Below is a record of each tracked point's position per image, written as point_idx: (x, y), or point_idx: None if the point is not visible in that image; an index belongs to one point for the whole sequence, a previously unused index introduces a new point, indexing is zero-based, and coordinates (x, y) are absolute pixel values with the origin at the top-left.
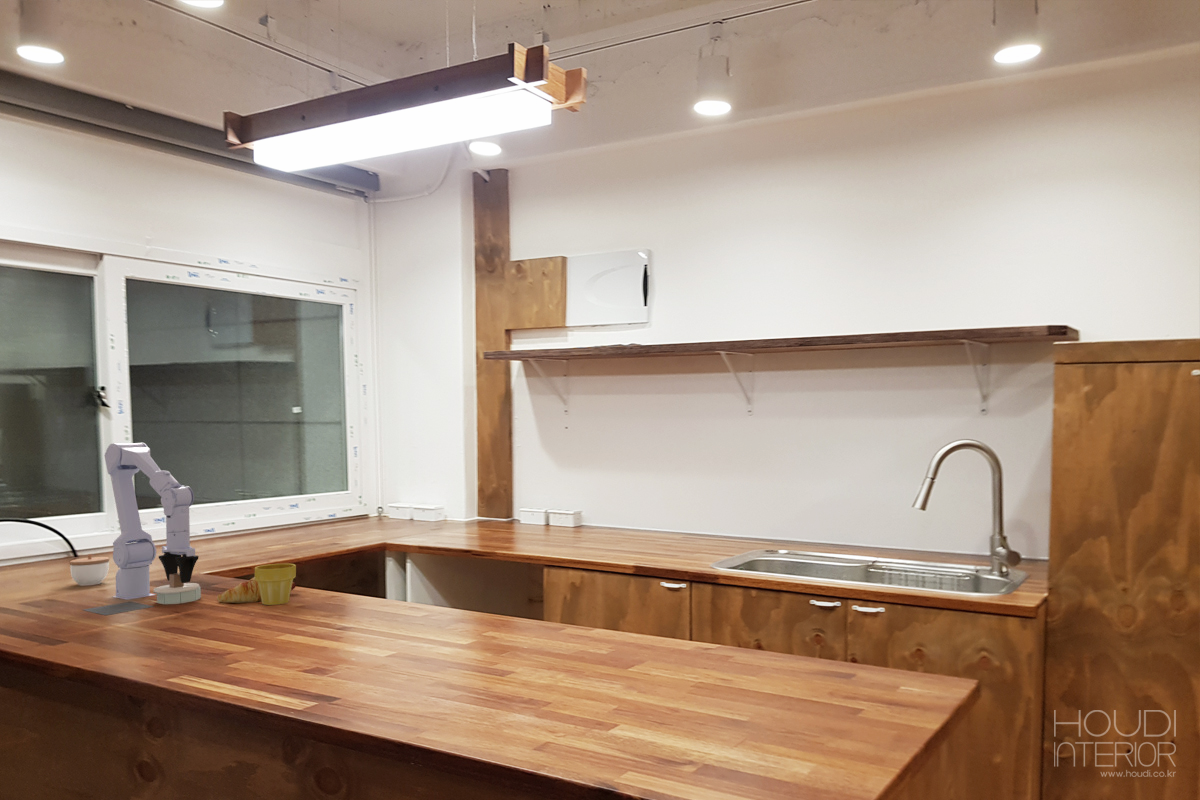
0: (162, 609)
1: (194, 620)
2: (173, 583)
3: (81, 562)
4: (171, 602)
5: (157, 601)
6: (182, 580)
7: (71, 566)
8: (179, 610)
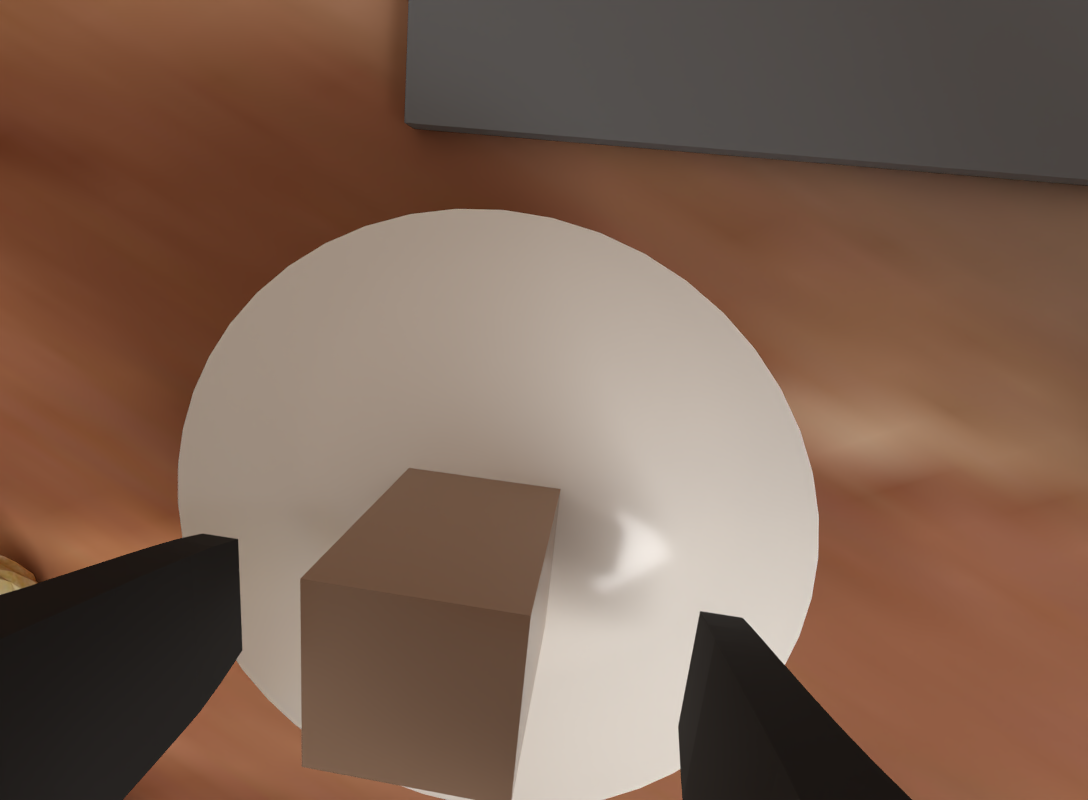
0: (294, 156)
1: None
2: (401, 498)
3: None
4: None
5: None
6: (160, 549)
7: None
8: (73, 208)
